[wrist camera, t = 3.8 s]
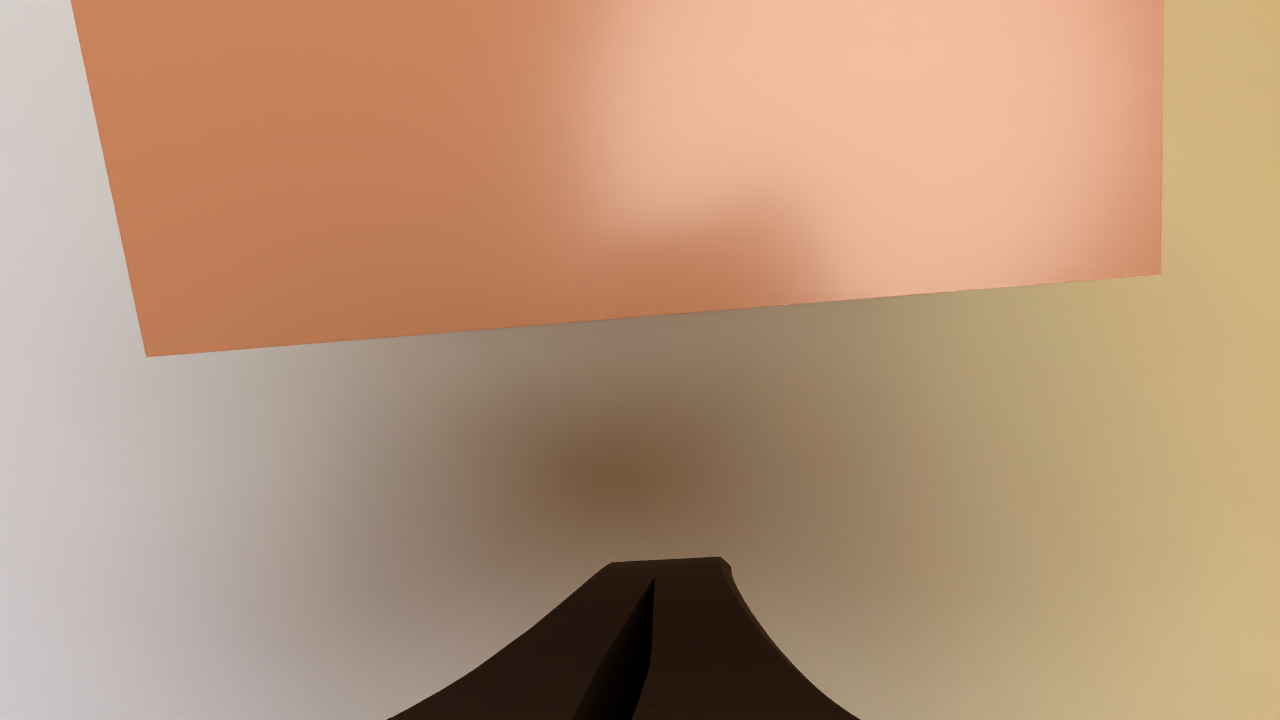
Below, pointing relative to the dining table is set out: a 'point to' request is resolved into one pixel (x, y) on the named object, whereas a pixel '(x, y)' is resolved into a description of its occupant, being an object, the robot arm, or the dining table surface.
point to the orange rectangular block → (611, 157)
